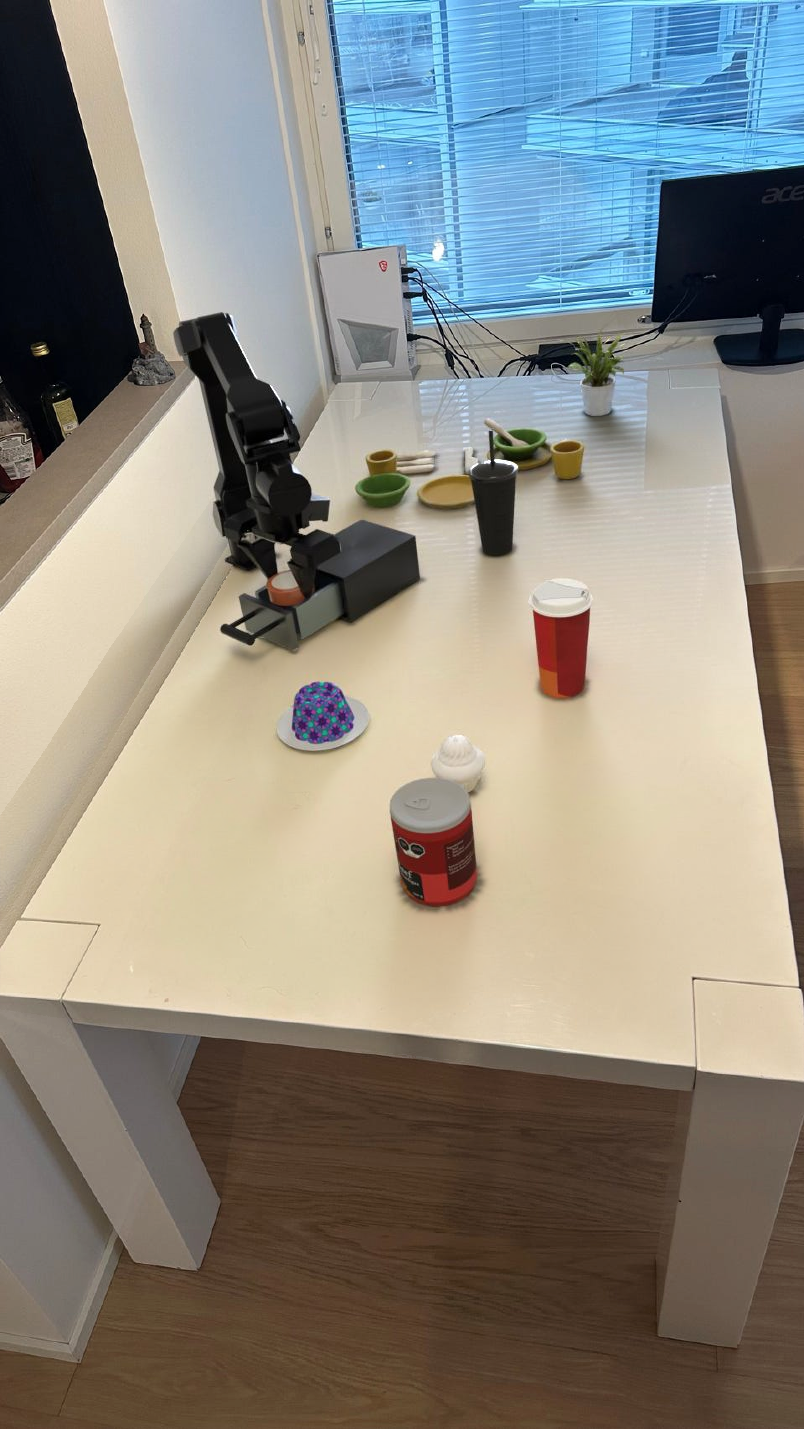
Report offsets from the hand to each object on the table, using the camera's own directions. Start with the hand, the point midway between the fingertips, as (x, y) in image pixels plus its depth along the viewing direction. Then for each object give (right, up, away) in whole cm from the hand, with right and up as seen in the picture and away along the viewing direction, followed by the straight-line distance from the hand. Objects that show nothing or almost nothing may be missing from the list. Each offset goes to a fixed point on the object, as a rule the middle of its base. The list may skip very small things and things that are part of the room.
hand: (291, 589), depth 146 cm
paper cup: (+37, -15, -15) cm, 43 cm away
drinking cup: (+32, +9, +17) cm, 37 cm away
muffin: (+23, -27, -29) cm, 46 cm away
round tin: (0, -1, +1) cm, 1 cm away
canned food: (+20, -36, -41) cm, 58 cm away
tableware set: (+29, +26, +41) cm, 57 cm away
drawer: (0, -5, +2) cm, 6 cm away
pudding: (+6, -20, -17) cm, 27 cm away
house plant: (+55, +44, +62) cm, 94 cm away
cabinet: (+9, +1, +11) cm, 15 cm away
